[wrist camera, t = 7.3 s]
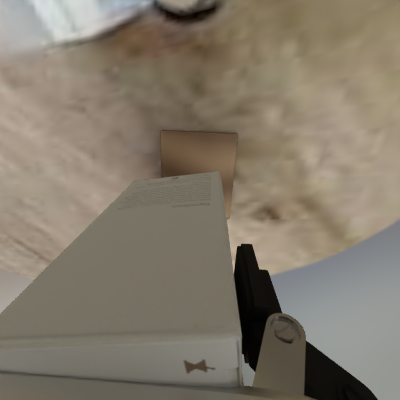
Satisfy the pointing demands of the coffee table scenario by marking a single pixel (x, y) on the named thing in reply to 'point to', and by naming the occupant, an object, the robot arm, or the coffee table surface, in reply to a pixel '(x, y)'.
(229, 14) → the coffee table surface
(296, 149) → the coffee table surface
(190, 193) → the small box
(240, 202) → the coffee table surface
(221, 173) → the walnut coaster board
